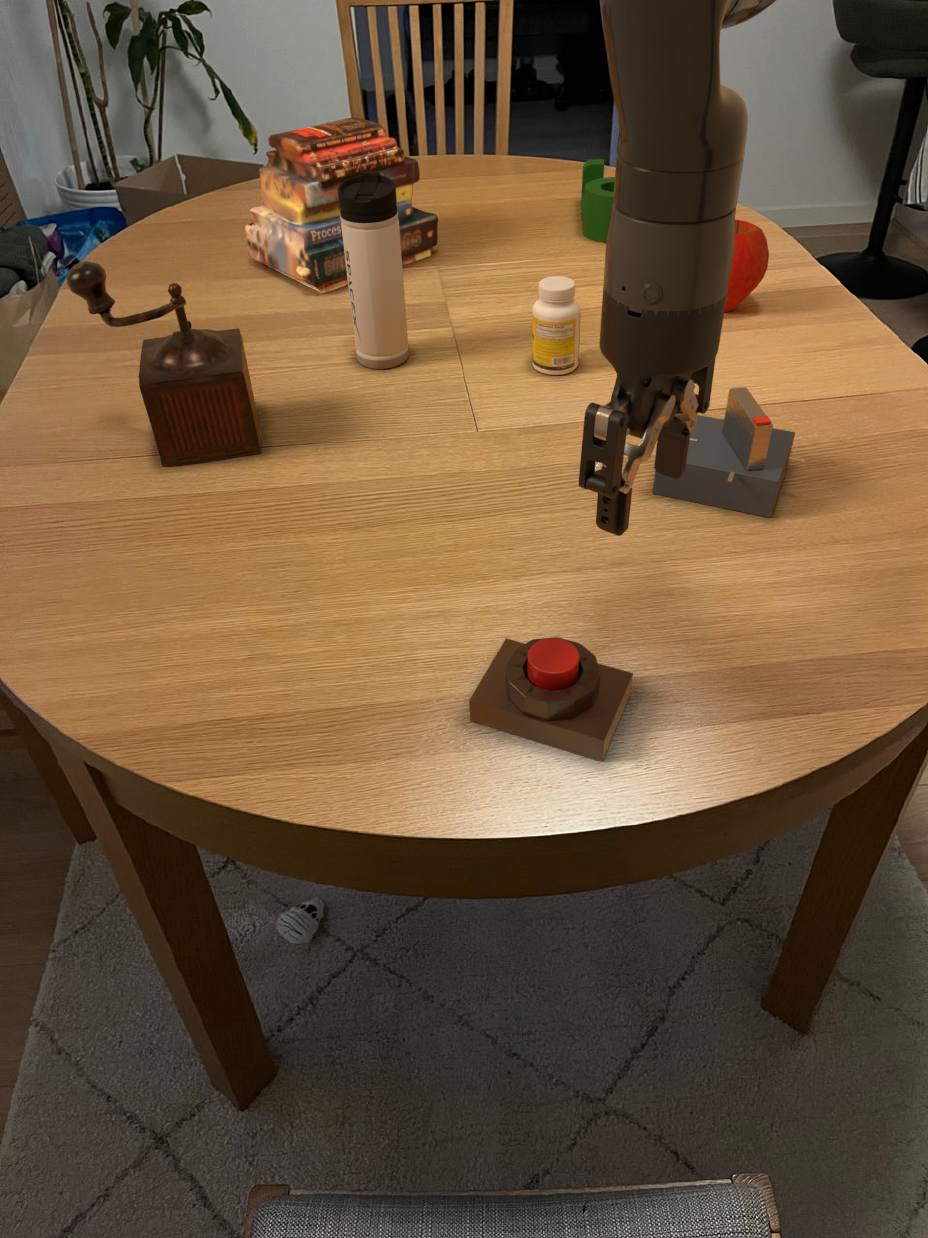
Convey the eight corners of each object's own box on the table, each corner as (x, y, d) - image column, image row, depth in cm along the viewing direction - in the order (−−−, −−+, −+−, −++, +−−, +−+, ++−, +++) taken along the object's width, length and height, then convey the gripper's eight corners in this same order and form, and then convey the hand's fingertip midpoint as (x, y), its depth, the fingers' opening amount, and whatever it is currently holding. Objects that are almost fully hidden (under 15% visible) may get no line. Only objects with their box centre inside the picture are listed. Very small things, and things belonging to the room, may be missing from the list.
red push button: (585, 663, 66) (586, 645, 65) (568, 696, 64) (569, 679, 63) (537, 650, 68) (538, 632, 66) (519, 682, 65) (519, 665, 64)
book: (311, 300, 125) (290, 163, 113) (242, 264, 135) (217, 136, 124) (441, 253, 135) (434, 124, 124) (368, 224, 146) (356, 102, 134)
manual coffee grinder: (258, 403, 104) (225, 239, 92) (263, 454, 96) (228, 282, 84) (115, 422, 102) (63, 257, 90) (108, 476, 94) (50, 302, 82)
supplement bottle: (546, 351, 111) (548, 269, 105) (586, 361, 109) (591, 278, 102) (522, 369, 108) (523, 286, 101) (563, 380, 106) (567, 296, 99)
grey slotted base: (805, 467, 91) (814, 430, 88) (785, 531, 83) (794, 492, 80) (677, 443, 95) (682, 407, 92) (647, 502, 87) (652, 464, 84)
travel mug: (413, 345, 114) (400, 170, 100) (404, 370, 109) (390, 190, 95) (362, 344, 114) (343, 170, 101) (352, 369, 109) (330, 190, 96)
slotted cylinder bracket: (644, 242, 136) (649, 196, 132) (583, 242, 137) (585, 196, 133) (637, 201, 150) (641, 158, 145) (581, 201, 150) (583, 159, 146)
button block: (630, 693, 69) (635, 655, 66) (602, 762, 64) (606, 723, 62) (505, 658, 72) (505, 620, 70) (469, 721, 68) (468, 682, 65)
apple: (773, 314, 117) (791, 225, 109) (718, 328, 114) (732, 239, 107) (730, 290, 123) (744, 204, 115) (677, 303, 120) (688, 217, 113)
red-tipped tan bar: (721, 431, 89) (729, 385, 85) (738, 429, 89) (746, 384, 85) (746, 470, 83) (756, 424, 80) (764, 469, 83) (774, 422, 80)
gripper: (665, 233, 63) (642, 443, 73) (550, 308, 54) (543, 532, 65) (771, 255, 59) (731, 472, 70) (665, 338, 51) (638, 570, 62)
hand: (641, 501), depth 68 cm, fingers open, 8 cm apart
